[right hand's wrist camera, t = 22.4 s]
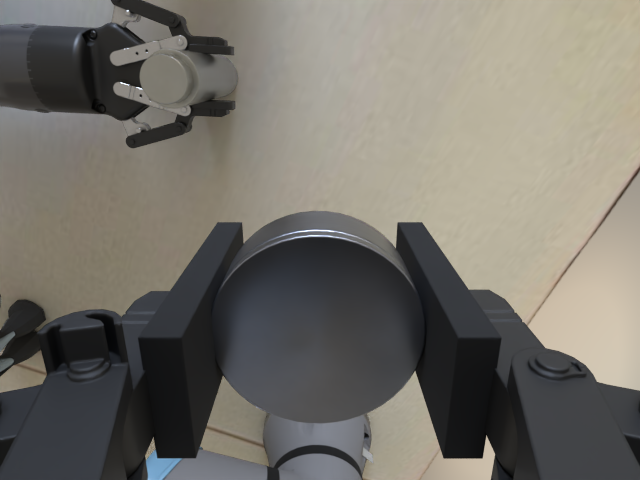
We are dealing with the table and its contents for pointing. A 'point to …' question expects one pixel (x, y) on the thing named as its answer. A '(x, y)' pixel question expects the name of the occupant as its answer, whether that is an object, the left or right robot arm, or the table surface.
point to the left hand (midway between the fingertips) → (232, 79)
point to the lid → (318, 319)
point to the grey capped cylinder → (186, 77)
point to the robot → (20, 333)
